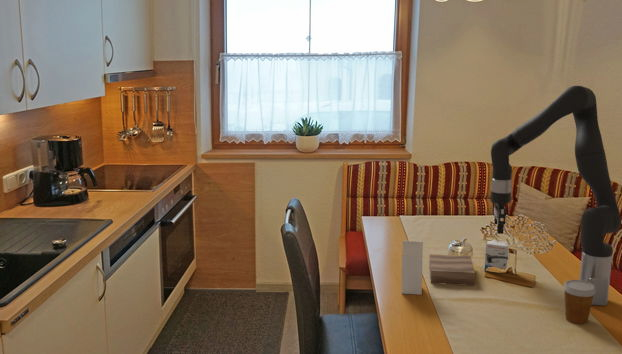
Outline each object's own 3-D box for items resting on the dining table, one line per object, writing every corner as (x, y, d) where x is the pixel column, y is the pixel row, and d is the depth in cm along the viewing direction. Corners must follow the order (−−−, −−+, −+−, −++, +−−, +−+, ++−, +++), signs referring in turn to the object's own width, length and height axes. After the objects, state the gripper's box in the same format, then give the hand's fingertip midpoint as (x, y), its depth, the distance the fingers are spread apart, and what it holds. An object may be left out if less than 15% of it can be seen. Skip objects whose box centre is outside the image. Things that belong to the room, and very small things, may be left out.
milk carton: (421, 295, 204) (422, 244, 200) (401, 293, 205) (402, 243, 201) (421, 287, 211) (422, 238, 207) (402, 286, 212) (403, 237, 208)
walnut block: (474, 285, 212) (474, 272, 211) (430, 283, 214) (431, 270, 213) (469, 267, 229) (470, 256, 228) (429, 266, 232) (429, 254, 231)
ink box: (484, 271, 225) (485, 243, 223) (486, 267, 229) (487, 239, 227) (506, 274, 221) (508, 246, 219) (508, 270, 225) (510, 242, 223)
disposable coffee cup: (565, 310, 189) (568, 276, 187) (596, 318, 183) (599, 283, 181) (556, 321, 182) (559, 286, 180) (588, 329, 176) (591, 293, 174)
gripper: (514, 194, 211) (511, 236, 214) (508, 186, 225) (505, 225, 228) (493, 194, 212) (490, 235, 216) (488, 185, 226) (486, 224, 229)
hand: (498, 230), depth 222 cm, fingers open, 8 cm apart
